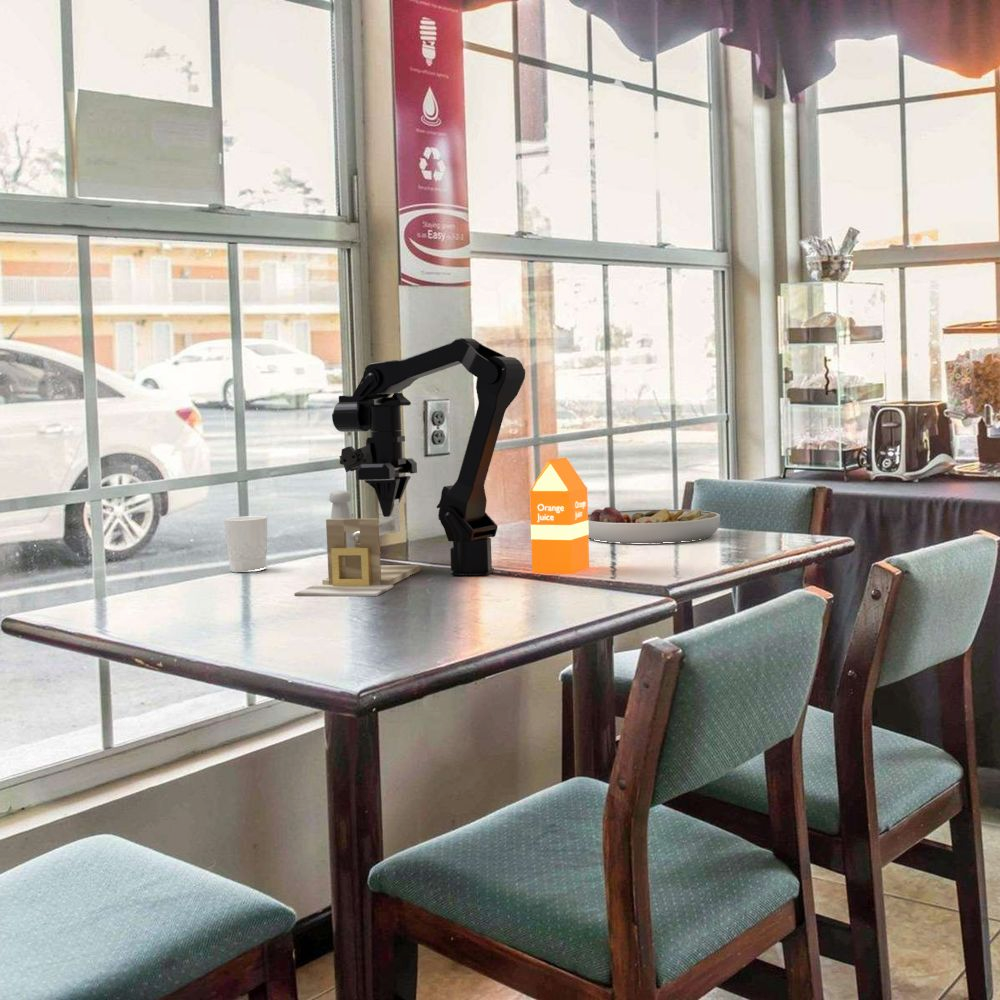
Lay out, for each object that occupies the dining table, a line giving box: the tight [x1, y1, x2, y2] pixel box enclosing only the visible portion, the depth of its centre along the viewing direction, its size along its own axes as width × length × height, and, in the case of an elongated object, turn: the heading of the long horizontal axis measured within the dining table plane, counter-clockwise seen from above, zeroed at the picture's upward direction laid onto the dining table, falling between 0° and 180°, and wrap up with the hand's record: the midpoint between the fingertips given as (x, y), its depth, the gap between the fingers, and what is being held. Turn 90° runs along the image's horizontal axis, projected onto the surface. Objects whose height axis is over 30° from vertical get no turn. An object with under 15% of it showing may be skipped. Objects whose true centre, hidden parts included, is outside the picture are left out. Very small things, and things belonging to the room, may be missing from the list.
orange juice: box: [529, 456, 590, 575], centre depth 230 cm, size 8×9×20 cm
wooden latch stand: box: [293, 517, 421, 597], centre depth 222 cm, size 29×14×12 cm, turn 168°
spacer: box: [331, 547, 372, 586], centre depth 217 cm, size 2×6×6 cm, turn 78°
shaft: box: [350, 499, 401, 545], centre depth 229 cm, size 21×3×6 cm, turn 168°
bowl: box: [588, 506, 721, 543], centre depth 277 cm, size 30×30×8 cm
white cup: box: [224, 515, 268, 574], centre depth 243 cm, size 8×8×10 cm
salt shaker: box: [328, 489, 355, 547], centre depth 265 cm, size 6×6×13 cm
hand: (389, 515), depth 238 cm, fingers closed on shaft, 3 cm apart
